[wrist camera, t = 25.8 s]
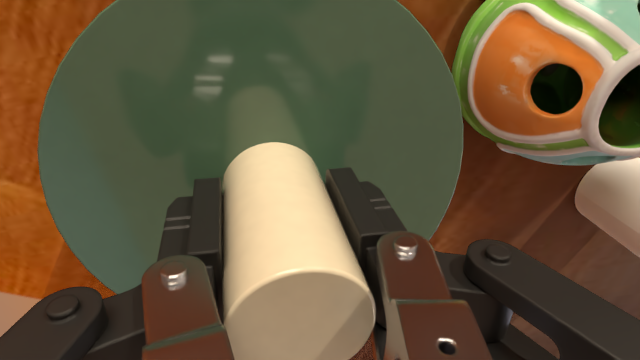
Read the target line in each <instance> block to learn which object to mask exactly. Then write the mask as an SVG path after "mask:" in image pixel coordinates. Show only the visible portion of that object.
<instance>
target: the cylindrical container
mask: <svg viewBox="0 0 640 360" xmlns="http://www.w3.org/2000/svg"><path fill="white" fill-rule="evenodd" d="M575 206H576V208H577V210H578V211H579V212H580V213H581V214H582V215H583V216H585V217H586V218H587V219H589V220H590V221H591V222H593V223H594V224H595V225H597V226H598V227H599V228H601V229H602V230H603V231H605V232H606V233H607V234H609V235H610V236H611V237H613V238H614V239H615V240H617V241H618V242H619V243H621V244H622V245H623V246H625V247H626V248H627V249H629V250H630V251H631V252H633V253H634V254H635V255H637V256H638V257H639V258H640V158H639V157H637V158H634V159H630V160H624V161H612V162H607V163H600V164H596V165H595V166H594V167H592V168H591V169H590V170H589V171H588V172H587V174H586V175H585V176H584V177H583V179H582V180H581V182H580V184H579V186H578V188H577V190H576V194H575Z"/></svg>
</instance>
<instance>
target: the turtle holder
mask: <svg viewBox="0 0 640 360" xmlns="http://www.w3.org/2000/svg"><path fill="white" fill-rule="evenodd" d="M451 74H452V76H453V79H454V82H455V86H456V89H457V93H458V96H459V99H460V105H461V112H462V116H463V117H464V119H465V120H466V121H467V122H468V123H469V124H470V125H471V126H472V127H473V128H474V129H475V130H476V131H477V132H479V133H480V134H481V135H483V136H485V137H487V138H490V139H491V140H492V141H494V142H495V143H496V145H497V147H498V148H499V149H501V150H503V151H505V152H508V153H512V154H517V155H520V156H522V157H525V158H528V159H531V160H535V161H540V162H544V163H550V164H558V165H592V164H600V163H607V162H612V161H624V160H630V159H634V158H637V157H640V0H486V1H485V2H484V3H483V4H482V5H481V6H480V7H479V8H478V9H477V10H476V12H475V13H474V14H473V16H472V17H471V18H470V20H469V21H468V23H467V25H466V27H465V29H464V30H463V32H462V35H461V38H460V41H459V45H458V48H457V51H456V54H455V58H454V61H453V66H452V72H451Z"/></svg>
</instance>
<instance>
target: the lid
mask: <svg viewBox="0 0 640 360" xmlns="http://www.w3.org/2000/svg"><path fill="white" fill-rule="evenodd" d="M37 151H38V162H39V172H40V180H41V184H42V188H43V192H44V195H45V199H46V203H47V206H48V208H49V211H50V213H51V215H52V218H53V220H54V222H55V224H56V227H57V229H58V231H59V232H60V234H61V235H62V237H63V238H64V240H65V242H66V243H67V245H68V246H69V248H70V250H71V251H72V252H73V253H74V255H75V256H76V257H77V258H78V259H79V260H80V262H81V263H82V264H83V265H84V266H85V268H86V269H87V270H88V271H89V272H90V273H92V274H93V275H94V276H95V277H96V278H97V279H98V280H99V281H100V282H101V283H102V284H104V285H105V286H106V287H107V288H109V289H110V290H112V291H113V292H114V293H116V294H120V293H123V292H126V291H128V290H130V289H133V288H135V287H136V286H138V285H140V284H141V280H142V276H143V274H144V272H145V271H146V270H147V269H148V268H149V267H150V266H151V265H152V264H154V263H155V262H157V258H158V253H159V248H160V243H161V238H162V233H163V230H164V223H165V221H166V220H165V218H166V213H167V208H168V207H169V206H170V205H171V204H172V202H173V201H174V200H175V199H176V198H177V197H187V196H193V189H194V180H195V179H205V178H217V177H220V180H221V188H222V231H223V281H222V323H224V325H225V327H226V330H227V334H228V337H229V341H230V344H231V348H232V352H233V355H234V359H235V360H349V359H350V358H352V357H353V356H354V355H355V354H356V353H357V352H358V351H359V350H360V349H361V348H362V347H363V346H364V345H365V343H366V342H367V340H368V339H369V337H370V335H371V333H372V331H373V328H374V325H375V321H376V303H375V300H374V297H373V294H372V292H371V290H370V287H369V285H368V283H367V280H366V278H365V276H364V273H363V271H362V269H361V266H360V264H359V262H358V260H357V257H356V255H355V253H354V250H353V248H352V246H351V243H350V241H349V239H348V236H347V234H346V232H345V230H344V227H343V225H342V223H341V220H340V218H339V216H338V213H337V211H336V209H335V206H334V204H333V202H332V200H331V197H330V195H329V193H328V190H327V188H326V186H325V177H326V170H327V169H333V168H346V167H351V168H352V170H353V171H354V173H355V175H356V177H357V178H358V180H359V182H364V181H369V182H370V183H372V184H374V185H375V186H377V187H378V188H380V189H381V191H382V192H383V194H384V196H385V197H386V200H388V202H389V203H390V205H391V208H393V209H394V211H395V212H396V214H397V215H398V217H399V219H400V220H401V222H402V223H403V225H404V226H405V228H406V229H407V231H408V232H412V233H416V234H418V235H420V236H422V237H424V238H425V239H427V240H428V241H429V240H430V238H431V237H432V236H433V234H434V233H435V231H436V230H437V228H438V226H439V224H440V222H441V221H442V219H443V217H444V215H445V213H446V211H447V209H448V206H449V204H450V201H451V199H452V197H453V194H454V192H455V188H456V184H457V180H458V177H459V173H460V168H461V161H462V154H463V119H462V112H461V105H460V99H459V96H458V93H457V89H456V86H455V82H454V79H453V76H452V74H451V72H450V69H449V67H448V65H447V63H446V61H445V59H444V56H443V54H442V53H441V51H440V50H439V48H438V46H437V45H436V43H435V42H434V40H433V39H432V37H431V36H430V34H429V33H428V31H427V30H426V29H425V28H424V27H423V26H422V25H421V23H420V22H419V21H418V20H417V19H416V18H415V17H414V16H413V15H412V13H411V12H410V11H409V10H408V9H406V8H405V7H404V6H403V5H402V4H400V3H399V2H398V1H397V0H115V1H114V2H113V3H112V4H110V5H109V6H108V7H107V8H105V9H104V10H103V11H101V12H100V13H99V14H98V15H97V16H96V17H95V18H94V20H93V21H92V22H91V23H90V24H89V25H88V26H87V27H86V28H85V29H84V30H83V32H82V33H81V34H80V35H79V36H78V37H77V38H76V40H75V41H74V43H73V44H72V46H71V47H70V49H69V50H68V52H67V53H66V55H65V57H64V58H63V60H62V61H61V63H60V64H59V66H58V68H57V71H56V73H55V75H54V78H53V80H52V82H51V84H50V87H49V89H48V91H47V94H46V98H45V102H44V106H43V110H42V114H41V118H40V123H39V136H38V150H37Z"/></svg>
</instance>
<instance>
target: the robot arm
mask: <svg viewBox="0 0 640 360" xmlns="http://www.w3.org/2000/svg"><path fill="white" fill-rule="evenodd" d="M325 186H326V188H327V190H328V193H329V195H330V197H331V200H332V202H333V204H334V206H335V209H336V211H337V213H338V216H339V218H340V220H341V223H342V225H343V227H344V230H345V232H346V234H347V236H348V239H349V241H350V243H351V246H352V248H353V250H354V253H355V255H356V257H357V260H358V262H359V264H360V266H361V269H362V271H363V273H364V276H365V278H366V280H367V283H368V285H369V287H370V290H371V292H372V294H373V297H374V300H375V303H376V321H375V325H374V328H373V331H372V333H371V335H370V337H371V345H372V352H373V359H374V360H640V320H638V319H637V318H635V317H633V316H632V315H630V314H628V313H626V312H625V311H623V310H621V309H620V308H618V307H616V306H614V305H613V304H611V303H609V302H608V301H606V300H604V299H602V298H601V297H599V296H597V295H596V294H594V293H592V292H590V291H589V290H587V289H585V288H584V287H582V286H580V285H578V284H577V283H575V282H573V281H572V280H570V279H568V278H566V277H565V276H563V275H561V274H560V273H558V272H556V271H555V270H553V269H551V268H549V267H548V266H546V265H544V264H543V263H541V262H539V261H537V260H536V259H534V258H532V257H531V256H529V255H527V254H525V253H524V252H522V251H520V250H519V249H517V248H515V247H513V246H511V245H509V244H507V243H504V242H501V241H497V240H490V239H484V240H478V241H475V242H473V243H471V244H470V245H469V247H468V249H467V254H466V255H459V254H450V253H442V252H437V251H434V249H433V247H432V245H431V243H430V242H429V241H428V240H427V239H425V238H424V237H422V236H420V235H418V234H416V233H412V232H408V231H407V229H406V228H405V226H404V225H403V223H402V222H401V220H400V219H399V217H398V215H397V214H396V212H395V211H394V209H393V208H391V205H390V203H389V202H388V200H386V197H385V196H384V194H383V192H382V191H381V189H380V188H378V187H377V186H375V185H374V184H372V183H370V182H369V181H364V182H359V180H358V178H357V177H356V175H355V173H354V171H353V170H352V168H351V167H346V168H333V169H327V170H326V177H325ZM165 220H166V221H165V223H164V230H163V233H162V238H161V243H160V248H159V253H158V258H157V262H155V263H154V264H152V265H151V266H150V267H149V268H148V269H147V270H146V271H145V272H144V274H143V276H142V280H141V284H140V285H138V286H136V287H135V288H133V289H130V290H128V291H126V292H123V293H120V294H117V295H114V296H111V297H108V298H105V299H102V296H101V295H100V293H99V292H98V291H96V290H95V289H93V288H89V287H72V288H67V289H63V290H60V291H57V292H55V293H53V294H50V295H49V296H47V297H45V298H43V299H42V300H41V301H39V302H38V303H37V304H36V305H34V306H33V307H32V308H31V309H30V310H29V311H28V312H27V313H26V314H25V315H24V316H23V317H22V318H20V320H18V321H17V322H16V323H15V324H14V325H13V326H12V327H11V328H10V329H9V330H8V331H7V332H6V333H4V334H3V335H2V336H1V337H0V360H235V359H234V355H233V352H232V348H231V344H230V341H229V337H228V334H227V330H226V327H225V325H224V323H222V281H223V231H222V188H221V180H220V177H217V178H205V179H195V180H194V189H193V196H187V197H177V198H176V199H175V200H174V201H173V202H172V204H171V205H170V206H169V207H168V208H167V213H166V218H165ZM513 312H515V313H516V314H518V315H519V316H521V317H522V318H523V319H525V320H526V321H528V322H529V323H530V324H532V325H533V326H535V327H536V328H537V329H539V330H540V331H542V332H543V333H545V334H546V335H547V336H549V337H550V338H551V339H552V340H553V341H554V342H555V344H556V345H557V347H558V349H559V352H560V359H557V358H556V357H555V356H553V355H552V354H551V353H549V352H548V351H547V350H545V349H544V348H543V347H541V346H540V345H538V344H537V343H536V342H534V341H533V340H532V339H530V338H529V337H528V336H526V335H525V334H524V333H522V332H521V331H519V330H518V329H517V328H515V327H514V326H513V325H511V324H510V320H511V317H512V314H513Z"/></svg>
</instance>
